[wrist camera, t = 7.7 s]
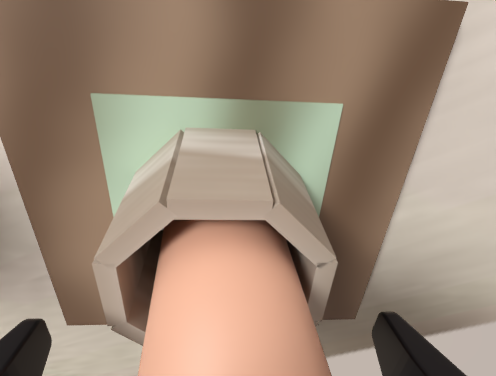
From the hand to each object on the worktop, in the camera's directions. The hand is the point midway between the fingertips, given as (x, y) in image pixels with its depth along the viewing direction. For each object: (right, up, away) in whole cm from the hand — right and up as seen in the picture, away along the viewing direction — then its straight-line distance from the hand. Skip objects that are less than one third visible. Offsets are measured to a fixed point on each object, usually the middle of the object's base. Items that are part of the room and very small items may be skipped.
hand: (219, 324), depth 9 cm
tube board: (-1, +4, +6) cm, 7 cm away
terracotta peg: (0, +3, +5) cm, 6 cm away
